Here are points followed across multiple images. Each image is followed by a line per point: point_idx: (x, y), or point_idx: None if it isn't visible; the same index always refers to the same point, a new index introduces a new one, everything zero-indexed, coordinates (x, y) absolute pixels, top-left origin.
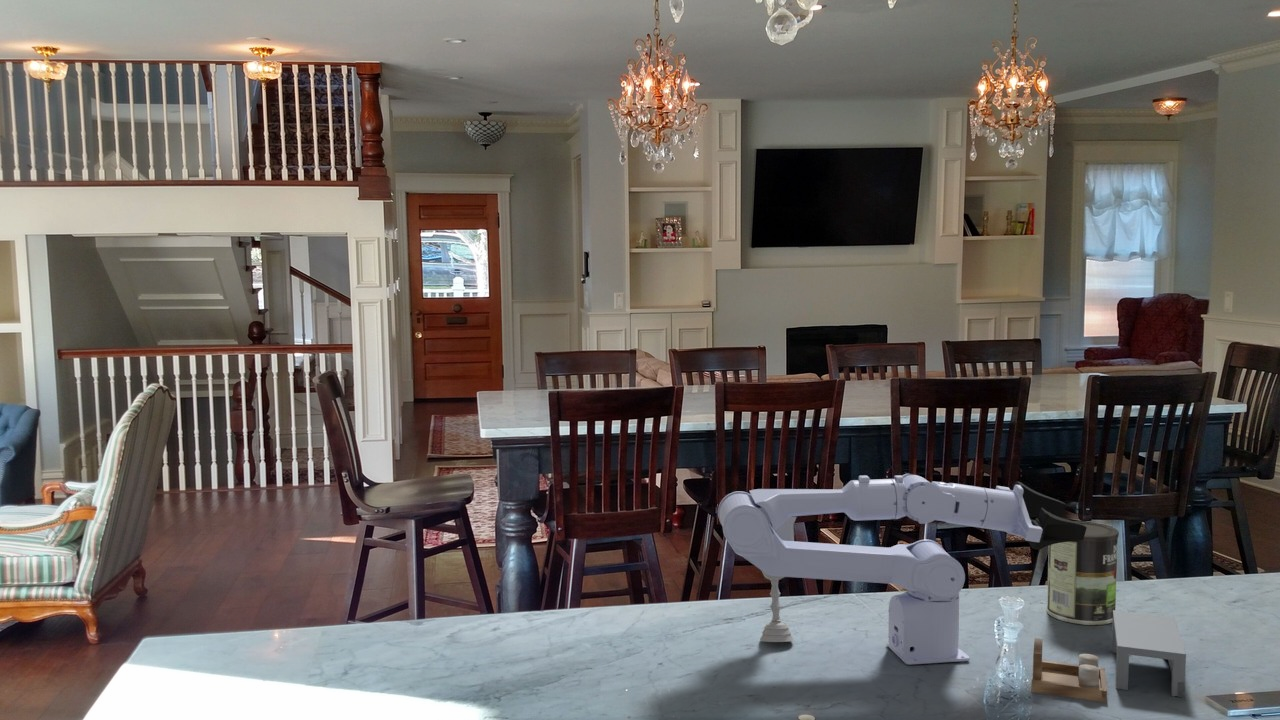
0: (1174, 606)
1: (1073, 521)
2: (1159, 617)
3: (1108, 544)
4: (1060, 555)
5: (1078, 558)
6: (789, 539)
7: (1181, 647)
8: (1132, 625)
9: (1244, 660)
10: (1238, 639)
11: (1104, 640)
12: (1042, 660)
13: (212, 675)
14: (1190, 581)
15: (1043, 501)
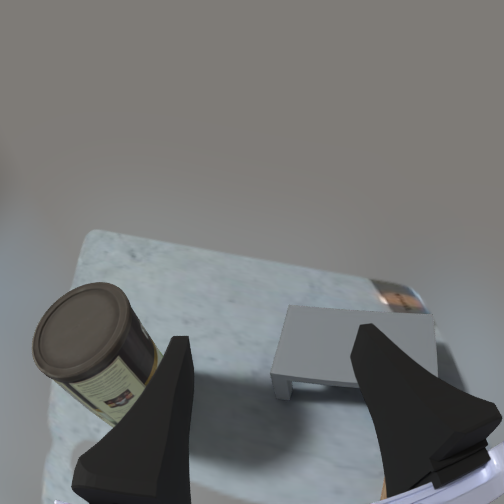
0: (134, 299)
1: (380, 347)
2: (294, 321)
3: (132, 310)
4: (110, 391)
5: (134, 369)
6: None
7: (412, 315)
8: (340, 358)
9: (290, 280)
10: (230, 273)
11: (242, 400)
12: (384, 494)
13: None
14: (81, 272)
15: (176, 405)
